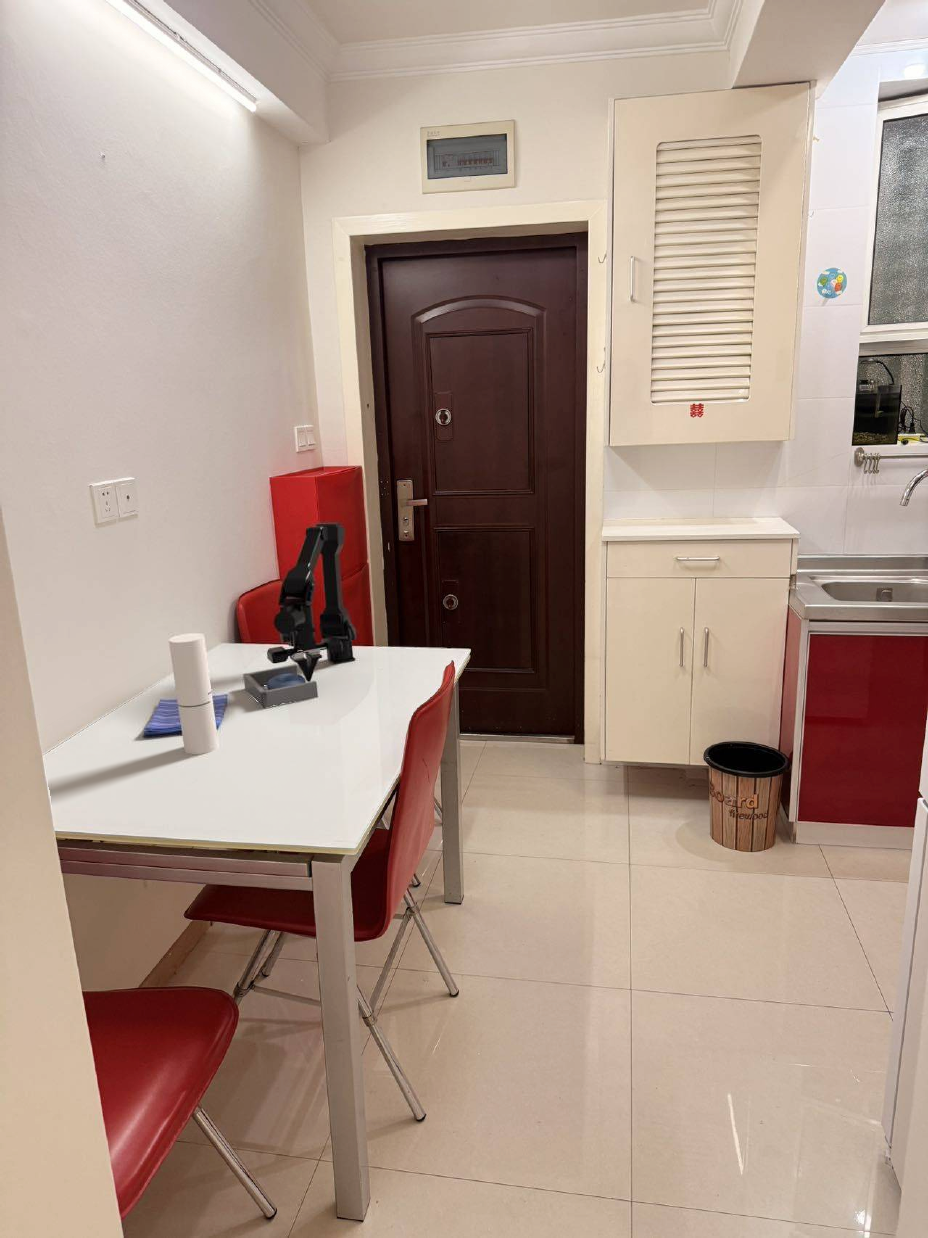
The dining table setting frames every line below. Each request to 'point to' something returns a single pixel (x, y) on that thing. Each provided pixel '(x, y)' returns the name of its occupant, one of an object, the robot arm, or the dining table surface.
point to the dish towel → (178, 717)
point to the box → (280, 694)
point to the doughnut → (285, 681)
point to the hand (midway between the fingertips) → (308, 681)
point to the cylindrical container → (194, 693)
